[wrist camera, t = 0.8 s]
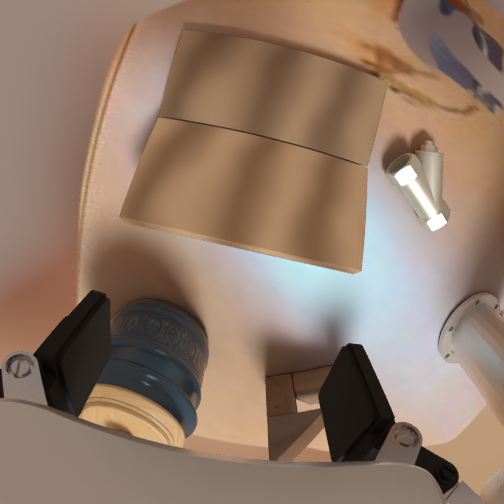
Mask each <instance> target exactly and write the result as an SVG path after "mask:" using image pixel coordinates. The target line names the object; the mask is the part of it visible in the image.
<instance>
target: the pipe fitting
mask: <svg viewBox="0 0 504 504" xmlns="http://www.w3.org/2000/svg"><path fill="white" fill-rule="evenodd" d="M443 157H444V154H442V153H438V147H437V146H433V141H425V145H421V151H415V154H413V153H405V154H402V155H400V156H399V157H397V158H396V159H394V160H393V161H392V162H391V163H390V165H389V166H388V167H387V170H386V173H385V175H386V176H387V178H388V179H389V180H390V182H391V183H392V184H393V185H396V186H397V187H398V188H399V189H400V191H401V192H402V193H403V195H404V196H405V198H406V199H407V200H408V202H409V203H410V205H411V206H412V208H413V209H414V210H415V212H416V213H417V215H418V217H417V219H418V221H419V222H420V224H421V225H422V227H424V228H425V229H427V230H430V231H434V230H436V229H439V228H440V227H442V226H443V225H444V224H445V223H446V222H447V221H448V218H449V215H450V209H449V207H448V205H447V203H446V202H445V201H444V200H442V186H443Z"/></svg>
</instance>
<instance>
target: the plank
mask: <svg viewBox="0 0 504 504" xmlns="http://www.w3.org/2000/svg"><path fill="white" fill-rule="evenodd" d="M366 202H367V168H366V167H363V166H360V165H357V164H354V163H351V162H348V161H345V160H342V159H339V158H336V157H333V156H330V155H326V154H323V153H320V152H316V151H313V150H309V149H306V148H302V147H299V146H295V145H292V144H288V143H284V142H280V141H276V140H272V139H268V138H264V137H260V136H256V135H252V134H247V133H243V132H238V131H233V130H229V129H224V128H219V127H214V126H208V125H203V124H197V123H192V122H186V121H179V120H173V119H166V118H159V117H158V119H157V122H156V124H155V126H154V128H153V131H152V133H151V135H150V137H149V140H148V142H147V144H146V147H145V149H144V151H143V154H142V156H141V159H140V161H139V164H138V166H137V169H136V171H135V174H134V177H133V179H132V182H131V185H130V187H129V190H128V193H127V196H126V198H125V201H124V204H123V207H122V210H121V213H120V216H119V217H120V218H121V219H122V220H123V222H124V223H128V224H132V225H137V226H141V227H146V228H150V229H155V230H159V231H164V232H168V233H173V234H177V235H182V236H186V237H191V238H195V239H199V240H204V241H208V242H213V243H217V244H222V245H226V246H231V247H235V248H240V249H244V250H249V251H253V252H258V253H262V254H266V255H271V256H275V257H280V258H284V259H289V260H293V261H298V262H302V263H307V264H311V265H315V266H320V267H324V268H329V269H333V270H338V271H342V272H347V273H351V274H354V273H357V272H360V271H361V270H362V260H363V249H364V236H365V222H366Z"/></svg>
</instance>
